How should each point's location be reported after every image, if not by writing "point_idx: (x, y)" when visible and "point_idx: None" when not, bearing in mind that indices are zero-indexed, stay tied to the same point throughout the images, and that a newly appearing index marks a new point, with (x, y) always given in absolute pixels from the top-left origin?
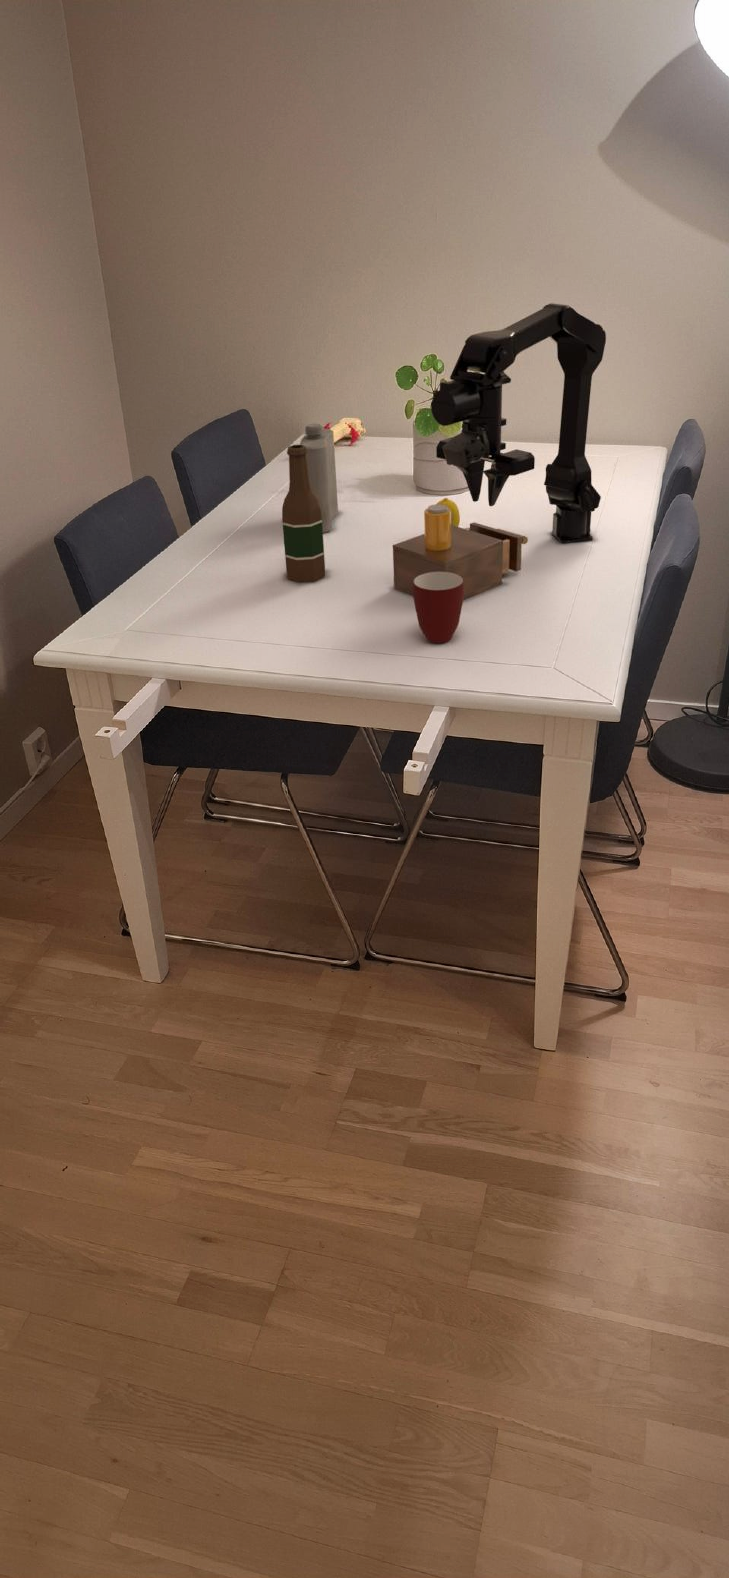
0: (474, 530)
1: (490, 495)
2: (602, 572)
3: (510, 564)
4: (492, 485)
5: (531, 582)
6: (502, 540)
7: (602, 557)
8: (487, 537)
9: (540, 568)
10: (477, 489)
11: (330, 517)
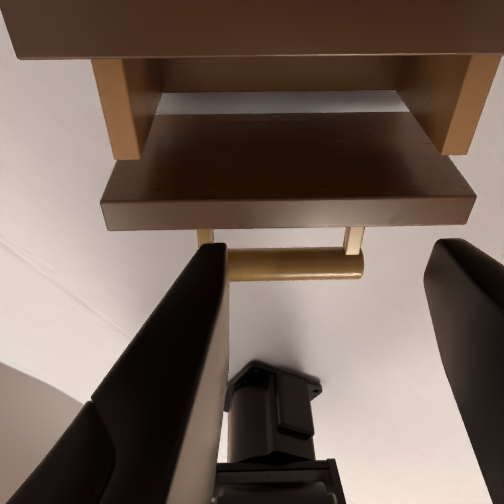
0: (428, 179)
1: (166, 326)
2: (4, 298)
3: (168, 124)
4: (35, 489)
5: (47, 99)
6: (17, 54)
7: (104, 355)
8: (151, 26)
9: None
10: (475, 370)
11: None
